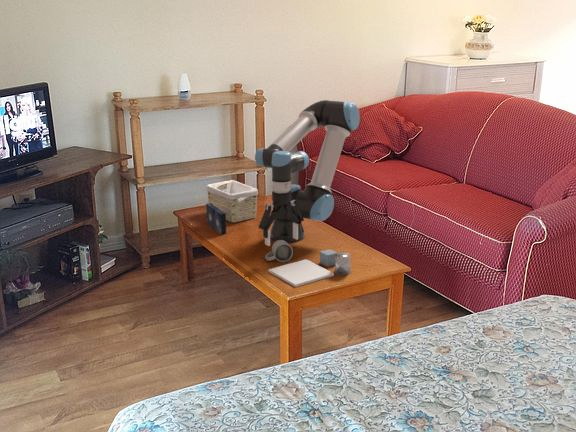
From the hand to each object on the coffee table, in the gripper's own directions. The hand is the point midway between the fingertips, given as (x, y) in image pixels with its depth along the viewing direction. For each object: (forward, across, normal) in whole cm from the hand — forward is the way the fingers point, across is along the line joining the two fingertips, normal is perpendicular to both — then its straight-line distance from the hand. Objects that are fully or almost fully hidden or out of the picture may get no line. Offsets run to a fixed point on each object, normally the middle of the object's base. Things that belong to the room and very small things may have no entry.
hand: (281, 241), depth 271 cm
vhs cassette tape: (+8, -3, +50) cm, 50 cm away
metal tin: (+8, +12, -25) cm, 28 cm away
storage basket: (+7, +14, +62) cm, 64 cm away
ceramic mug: (+8, -1, +1) cm, 8 cm away
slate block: (+8, +12, -15) cm, 21 cm away
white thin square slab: (+8, -2, -17) cm, 19 cm away
